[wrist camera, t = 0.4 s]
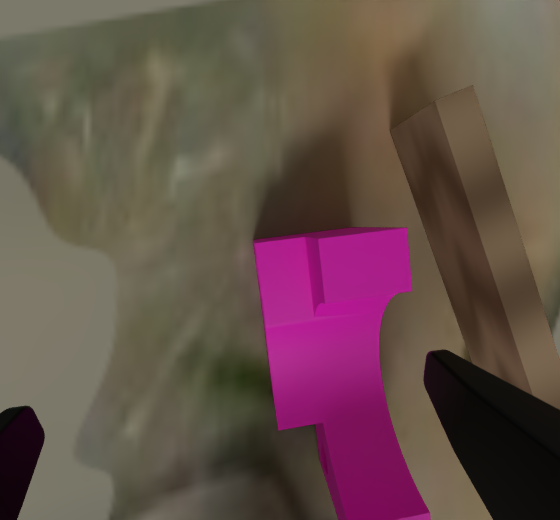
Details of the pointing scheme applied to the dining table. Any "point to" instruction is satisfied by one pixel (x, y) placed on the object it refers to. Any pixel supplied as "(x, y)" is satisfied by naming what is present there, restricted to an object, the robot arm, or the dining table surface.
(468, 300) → the batten
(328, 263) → the toy block
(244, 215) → the dining table surface
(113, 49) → the dining table surface
